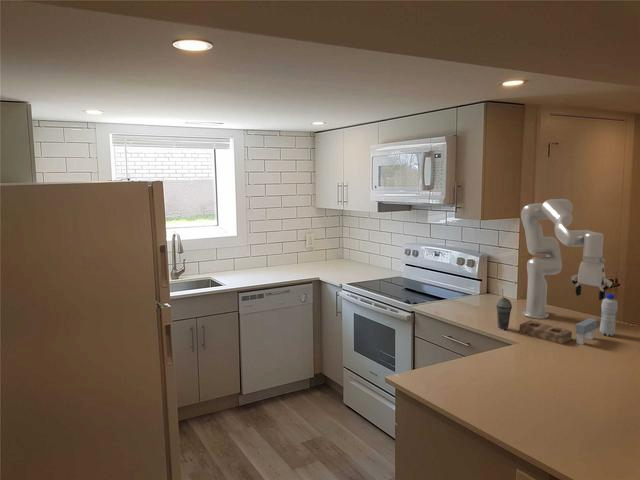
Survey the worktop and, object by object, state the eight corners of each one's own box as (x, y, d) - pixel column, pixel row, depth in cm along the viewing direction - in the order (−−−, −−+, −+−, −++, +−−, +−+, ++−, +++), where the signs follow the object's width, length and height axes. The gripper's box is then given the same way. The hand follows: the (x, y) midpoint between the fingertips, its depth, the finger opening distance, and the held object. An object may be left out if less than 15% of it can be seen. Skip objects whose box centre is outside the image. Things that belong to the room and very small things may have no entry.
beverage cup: (508, 332, 230) (510, 292, 227) (493, 329, 234) (495, 290, 231) (512, 328, 236) (514, 289, 232) (497, 325, 240) (499, 286, 237)
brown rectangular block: (519, 332, 229) (519, 324, 229) (529, 327, 235) (530, 320, 235) (561, 344, 214) (561, 335, 213) (571, 339, 220) (571, 330, 219)
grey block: (588, 336, 224) (589, 317, 222) (596, 338, 221) (597, 319, 219) (574, 343, 215) (576, 324, 214) (582, 345, 212) (584, 326, 211)
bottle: (599, 335, 224) (602, 294, 221) (598, 331, 230) (601, 291, 227) (615, 337, 221) (619, 296, 218) (614, 333, 227) (618, 292, 224)
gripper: (617, 261, 207) (614, 299, 210) (575, 256, 221) (573, 292, 223) (609, 263, 203) (607, 302, 205) (568, 258, 216) (566, 294, 219)
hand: (589, 297), depth 214 cm, fingers open, 9 cm apart
